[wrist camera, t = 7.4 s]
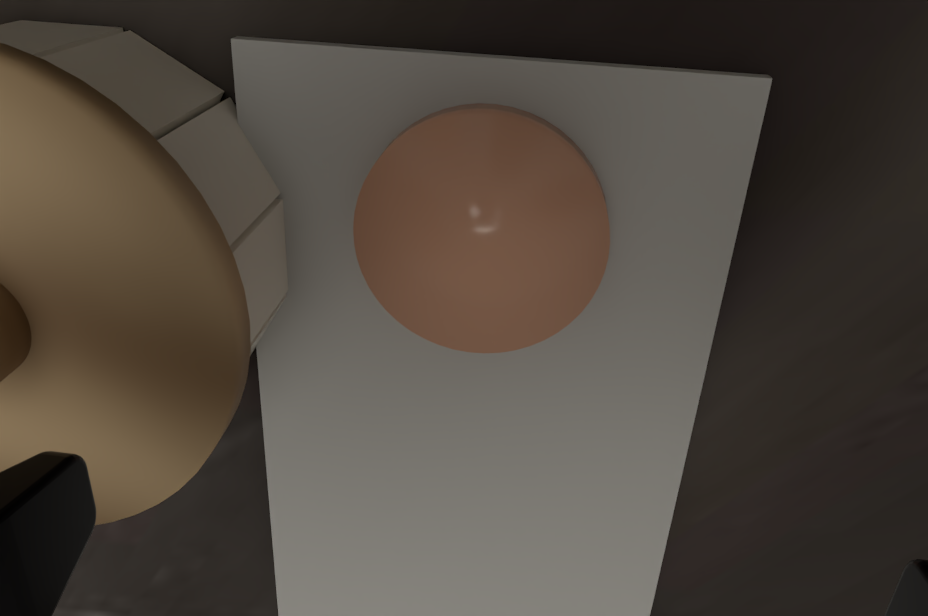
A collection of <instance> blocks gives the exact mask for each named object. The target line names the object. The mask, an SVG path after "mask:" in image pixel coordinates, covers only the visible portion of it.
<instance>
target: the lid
mask: <svg viewBox="0 0 928 616" xmlns="http://www.w3.org/2000/svg"><path fill="white" fill-rule="evenodd" d="M250 353H251V341H250V319H249V313H248V307H247V301H246V295H245V290H244V286H243V283H242V280H241V277H240V273H239V270H238V267H237V264H236V261H235V258H234V255H233V253H232V251H231V249H230V246H229V244H228V242H227V240H226V238H225V235H224V233H223V231H222V229H221V226H220V225H219V223H218V221H217V220H216V218H215V216H214V215H213V213H212V211H211V210H210V208H209V206H208V204H207V203H206V201H205V199H204V198H203V196H202V194H201V193H200V192H199V190H198V189H197V188H196V186H195V185H194V184H193V182H192V181H191V180H190V178H189V177H188V176H187V174H186V173H185V172H184V170H183V169H182V168H181V166H180V165H179V164H178V162H177V161H176V160H175V159H174V158H173V157H172V156H171V155H170V154H169V153H168V152H167V151H166V150H165V148H164V147H163V146H162V145H161V144H160V143H159V142H158V141H157V140H156V139H155V138H154V137H153V136H152V135H151V134H150V132H149V131H147V130H146V129H145V128H144V127H143V126H142V125H140V124H139V123H138V122H137V121H136V120H135V119H133V118H132V117H131V116H130V115H129V114H128V113H126V112H125V111H124V110H123V109H122V108H121V107H120V106H118V105H117V104H116V103H114V102H113V101H112V100H110V99H109V98H107V97H106V96H104V95H103V94H101V93H100V92H99V91H97V90H96V89H94V88H93V87H91V86H90V85H88V84H87V83H86V82H84V81H83V80H81V79H79V78H77V77H76V76H74V75H72V74H70V73H68V72H66V71H64V70H63V69H61V68H59V67H57V66H55V65H53V64H52V63H50V62H48V61H46V60H44V59H42V58H39V57H37V56H34V55H32V54H29V53H27V52H24V51H22V50H19V49H17V48H14V47H12V46H9V45H7V44H4V43H0V472H1V471H4V470H6V469H8V468H10V467H12V466H14V465H16V464H18V463H20V462H22V461H24V460H26V459H28V458H31V457H33V456H35V455H37V454H39V453H41V452H45V451H54V452H63V453H71V454H77V455H79V456H81V457H82V458H83V459H84V461H85V462H86V465H87V469H88V473H89V478H90V482H91V487H92V492H93V496H94V501H95V505H96V522H95V525H98V524H104V523H110V522H113V521H117V520H120V519H123V518H127V517H130V516H133V515H136V514H138V513H140V512H143V511H145V510H147V509H149V508H151V507H153V506H155V505H158V504H159V503H161V502H162V501H164V500H165V499H167V498H168V497H170V496H171V495H172V494H174V493H175V492H177V491H178V490H179V489H181V488H182V487H183V486H184V485H185V484H186V483H187V482H188V481H189V480H190V479H191V478H192V477H193V476H194V475H195V474H196V473H197V472H198V471H199V469H200V468H201V466H202V465H203V464H204V462H205V461H206V460H207V458H208V457H209V456H210V454H211V453H212V451H213V450H214V448H215V446H216V445H217V443H218V442H219V440H220V439H221V437H222V435H223V434H224V432H225V431H226V429H227V428H228V426H229V424H230V422H231V420H232V418H233V416H234V414H235V412H236V410H237V408H238V406H239V404H240V401H241V398H242V394H243V391H244V388H245V384H246V381H247V376H248V369H249V361H250Z"/></svg>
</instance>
